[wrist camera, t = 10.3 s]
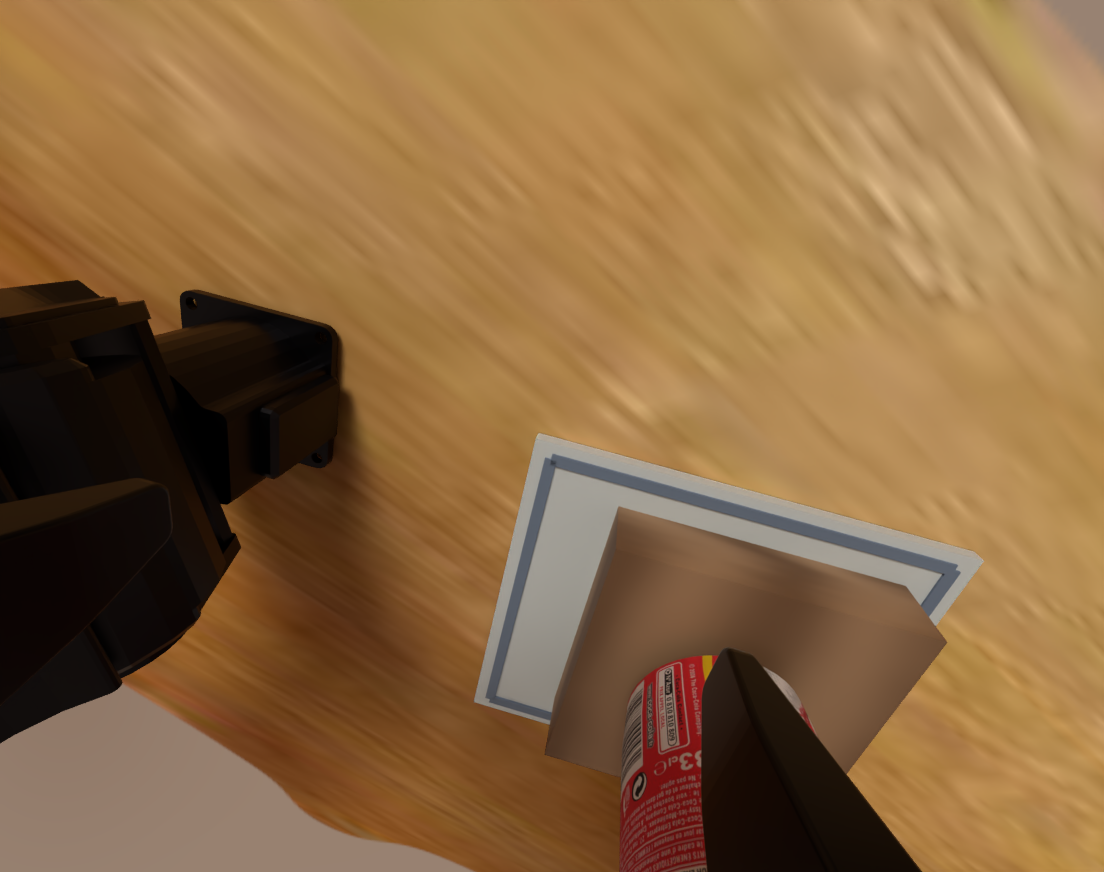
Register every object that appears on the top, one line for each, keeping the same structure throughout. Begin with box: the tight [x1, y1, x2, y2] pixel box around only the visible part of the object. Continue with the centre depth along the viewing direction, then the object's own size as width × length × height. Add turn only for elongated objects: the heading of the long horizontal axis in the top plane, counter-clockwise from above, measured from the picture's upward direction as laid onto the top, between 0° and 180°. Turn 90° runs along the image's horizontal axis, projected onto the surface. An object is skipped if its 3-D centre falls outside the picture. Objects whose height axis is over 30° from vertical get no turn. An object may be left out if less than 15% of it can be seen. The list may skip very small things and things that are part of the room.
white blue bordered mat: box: [474, 433, 984, 725], centre depth 24 cm, size 18×16×1 cm
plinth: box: [545, 506, 947, 778], centre depth 22 cm, size 12×12×3 cm
